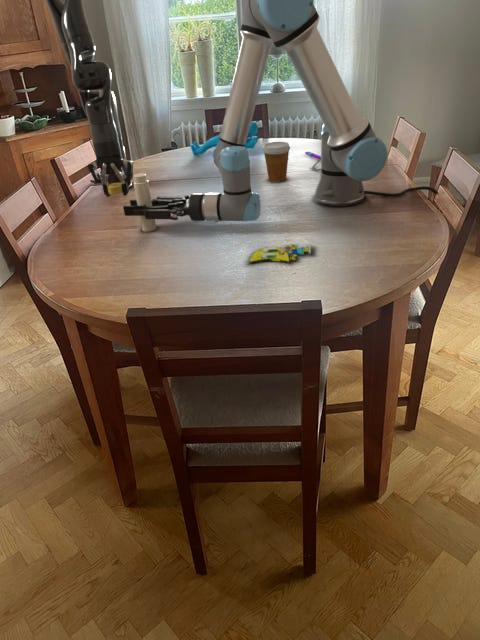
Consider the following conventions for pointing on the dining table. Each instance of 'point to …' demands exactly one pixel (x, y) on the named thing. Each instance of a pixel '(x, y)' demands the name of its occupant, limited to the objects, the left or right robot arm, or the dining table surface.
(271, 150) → the disposable coffee cup
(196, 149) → the toy
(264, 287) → the dining table surface
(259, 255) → the toy
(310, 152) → the checkered curved strip
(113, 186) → the lid
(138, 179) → the white bottle
